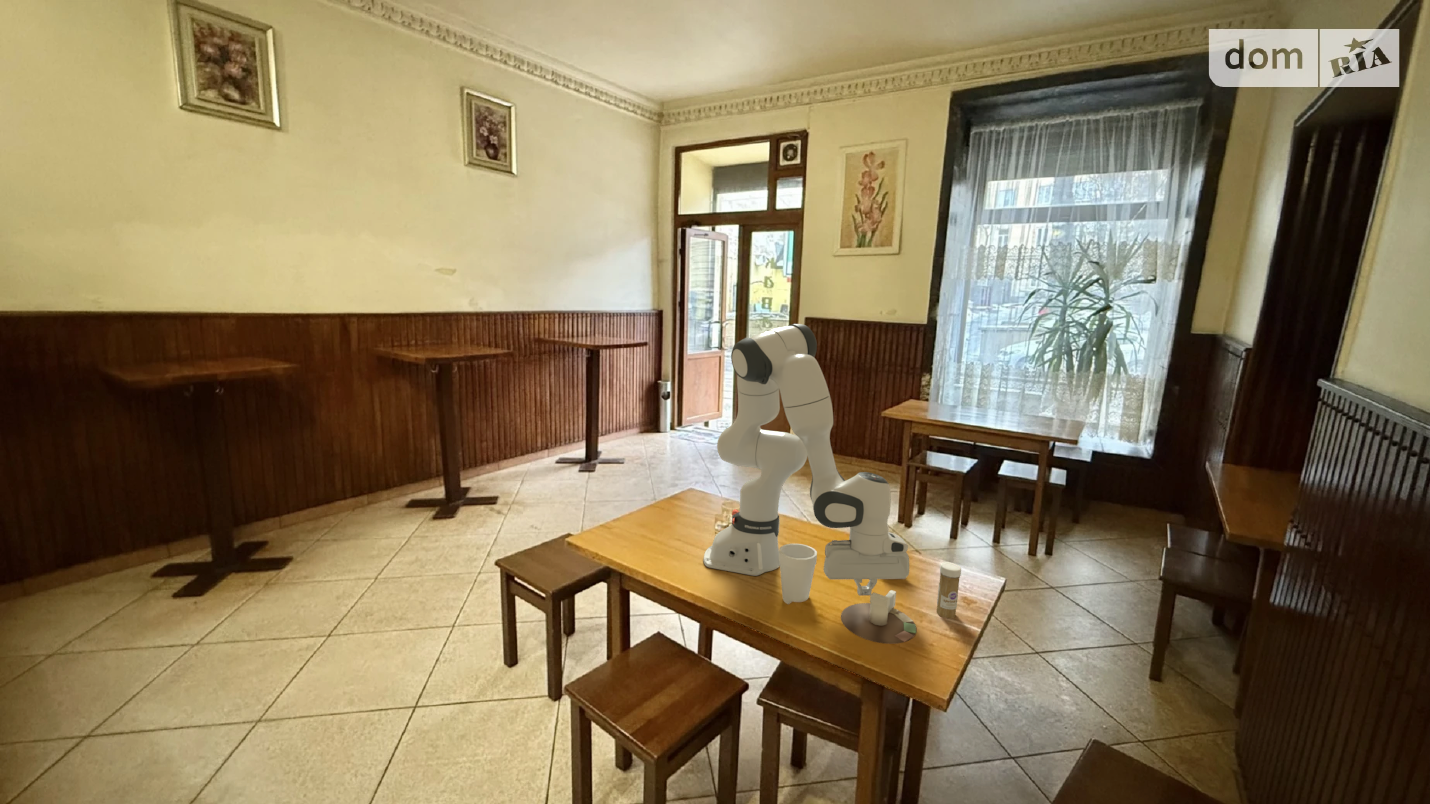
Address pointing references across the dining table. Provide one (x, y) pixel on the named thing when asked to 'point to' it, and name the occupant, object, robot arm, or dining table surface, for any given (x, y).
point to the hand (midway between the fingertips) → (864, 594)
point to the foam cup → (796, 571)
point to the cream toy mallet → (881, 607)
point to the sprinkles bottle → (948, 590)
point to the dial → (891, 633)
